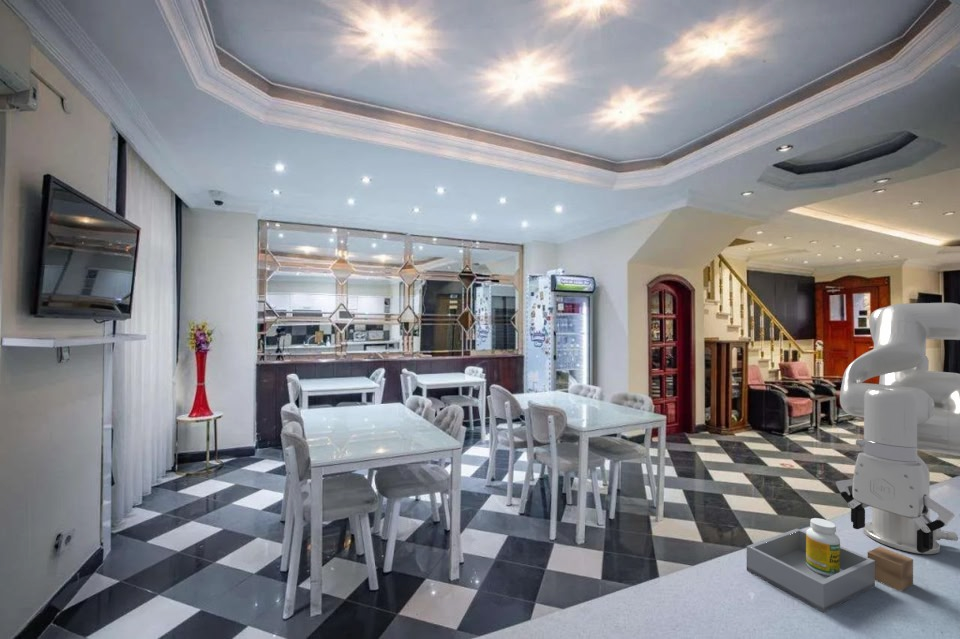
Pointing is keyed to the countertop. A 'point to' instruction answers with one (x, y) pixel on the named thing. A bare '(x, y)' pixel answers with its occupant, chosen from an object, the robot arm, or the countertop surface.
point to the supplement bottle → (822, 547)
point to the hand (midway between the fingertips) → (889, 538)
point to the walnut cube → (892, 568)
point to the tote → (809, 571)
